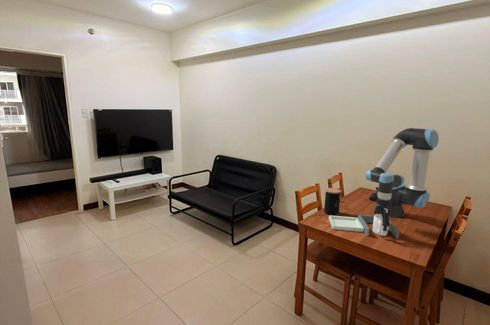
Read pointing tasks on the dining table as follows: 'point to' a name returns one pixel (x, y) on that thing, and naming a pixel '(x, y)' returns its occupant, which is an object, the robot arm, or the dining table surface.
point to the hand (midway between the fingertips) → (379, 230)
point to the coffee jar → (332, 201)
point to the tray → (346, 223)
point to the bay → (370, 219)
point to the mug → (378, 224)
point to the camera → (374, 195)
